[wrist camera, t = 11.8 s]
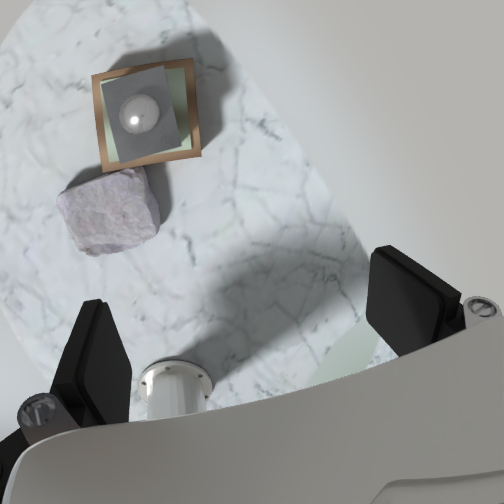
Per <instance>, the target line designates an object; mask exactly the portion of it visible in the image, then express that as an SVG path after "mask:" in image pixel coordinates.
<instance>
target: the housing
mask: <svg viewBox="0 0 504 504" xmlns="http://www.w3.org/2000/svg"><path fill="white" fill-rule="evenodd" d="M101 88H102V92H103V97H104V101H105V106H106V110H107V114H108V119H109V123H110V127H111V131H112V135H113V139H114V143H115V146H116V150H117V154H118V158H119V161H120V164H123V163H126V162H129V161H132V160H136V159H139V158H142V157H146V156H149V155H152V154H156V153H159V152H163V151H166V150H170V149H174V148H177V147H181V146H182V142H181V138H180V134H179V130H178V125H177V121H176V117H175V112H174V108H173V104H172V99H171V95H170V90H169V86H168V81H167V76H166V72H165V68H164V65H162V66H159V67H155V68H151V69H148V70H144V71H141V72H137V73H134V74H131V75H127V76H124V77H121V78H118V79H115V80H112V81H109V82H106V83H103V84H101Z"/></svg>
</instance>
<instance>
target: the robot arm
mask: <svg viewBox="0 0 504 504" xmlns="http://www.w3.org/2000/svg"><path fill="white" fill-rule="evenodd" d="M460 298H461V293H460V292H459V291H457V290H456V289H455V288H453V287H452V286H451V285H449V284H447V283H446V282H445V281H443V280H442V279H440V278H439V277H438V276H436V275H435V274H433V273H432V272H430V271H429V270H427V269H426V268H424V267H423V266H422V265H420V264H419V263H417V262H416V261H414V260H413V259H411V258H409V257H408V256H406V255H405V254H404V253H402V252H400V251H399V250H397V249H396V248H394V247H393V246H391V245H387V246H382V247H378V248H376V249H375V250H374V252H373V253H372V254H371V259H370V273H369V285H368V296H367V307H366V319H367V321H368V323H369V324H370V325H371V326H372V327H373V328H374V329H375V331H376V332H377V333H378V334H379V335H380V336H381V337H382V338H383V339H384V341H385V342H386V343H387V344H388V345H389V346H390V347H391V348H392V349H393V351H394V352H395V353H396V354H397V355H398V356H399V357H398V358H396V359H393V360H390V361H388V362H385V363H382V364H380V365H377V366H374V367H371V368H369V369H366V370H363V371H360V372H357V373H354V374H351V375H348V376H345V377H342V378H339V379H335V380H332V381H329V382H326V383H323V384H319V385H316V386H313V387H309V388H305V389H302V390H298V391H294V392H290V393H287V394H283V395H279V396H275V397H271V398H267V399H262V400H258V401H254V402H249V403H245V404H240V405H235V406H230V407H225V408H220V409H215V410H210V411H207V409H206V402H207V400H208V399H209V398H210V396H211V394H212V383H211V379H210V377H209V375H208V374H207V373H206V372H205V371H204V370H203V369H202V368H200V367H199V366H197V365H195V364H192V363H189V362H184V361H174V360H172V361H164V362H159V363H156V364H154V365H152V366H150V367H149V368H147V369H146V370H145V371H144V372H143V373H142V374H141V376H140V378H139V383H138V389H139V393H140V396H141V397H142V399H143V400H144V401H145V402H146V403H147V420H142V421H134V422H129V406H130V392H131V380H132V368H131V364H130V361H129V359H128V356H127V354H126V351H125V349H124V346H123V344H122V341H121V339H120V336H119V333H118V331H117V328H116V325H115V322H114V320H113V317H112V314H111V311H110V308H109V306H108V304H107V302H104V303H103V302H102V300H101V299H95V300H89V301H84V303H83V305H82V307H81V310H80V312H79V314H78V317H77V319H76V322H75V324H74V327H73V329H72V332H71V335H70V337H69V340H68V342H67V344H66V346H65V348H64V351H63V354H62V357H61V359H60V362H59V365H58V368H57V371H56V374H55V377H54V380H53V383H52V386H51V389H50V392H49V393H39V394H35V395H33V396H31V397H29V398H28V399H27V400H25V401H24V402H23V404H22V405H21V406H20V408H19V410H18V413H17V420H18V424H19V426H20V428H19V429H17V430H16V431H15V432H13V433H12V434H11V435H9V436H8V437H6V438H5V439H4V440H2V441H1V442H0V504H504V316H502V313H501V310H500V308H499V306H498V305H497V304H496V303H495V302H493V301H492V300H490V299H488V298H485V297H480V296H473V297H469V298H467V299H466V300H465V301H464V303H463V305H462V304H461V303H459V302H460Z"/></svg>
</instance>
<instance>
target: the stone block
mask: <svg viewBox="0 0 504 504" xmlns="http://www.w3.org/2000/svg"><path fill="white" fill-rule="evenodd" d="M57 206H58V209H59V210H60V213H61V215H62V217H63V219H64V221H65V224H66V226H67V229H68V231H69V234H70V236H71V238H72V240H73V242H74V244H75V246H76V247H77V249H78V250H79V251H80V252H85V254H86V255H87V256H91V257H98V256H99V255H101V254H112V253H118V252H121V251H124V250H128V249H132V248H134V247H136V246H138V245H139V244H140V243H144V242H145V241H147V240H149V239H151V238H153V237H155V236H156V235H157V233H158V231H159V228H160V221H161V220H160V214H159V205H158V202H157V200H156V198H155V196H154V193H153V192H152V191H151V190H150V187H149V182H148V178H147V175H146V172H145V169H144V167H143V166H136V167H131V168H125V169H120V170H115V171H112V172H109V173H107V174H104V175H101V176H99V177H96V178H94V179H91V180H89V181H86V182H84V183H81V184H79V185H76V186H73V187H71V188H68V189H66V190H64V191H62V192H61V193H60V194H59V195H58V197H57Z"/></svg>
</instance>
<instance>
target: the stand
mask: <svg viewBox="0 0 504 504" xmlns="http://www.w3.org/2000/svg"><path fill="white" fill-rule="evenodd" d="M162 65H164V68H165V72H166V76H167V81H168V86H169V90H170V95H171V99H172V104H173V108H174V112H175V117H176V121H177V125H178V130H179V134H180V138H181V142H182V146H181V147H177V148H174V149H170V150H166V151H163V152H159V153H156V154H152V155H149V156H146V157H142V158H139V159H136V160H132V161H129V162H126V163H123V164H120V161H119V158H118V154H117V150H116V146H115V143H114V139H113V135H112V131H111V127H110V123H109V119H108V114H107V110H106V106H105V101H104V97H103V92H102V88H101V84H103V83H106V82H109V81H112V80H115V79H118V78H121V77H124V76H127V75H131V74H134V73H137V72H141V71H144V70H148V69H151V68H155V67H159V66H162ZM91 77H92V90H93V101H94V111H95V121H96V129H97V137H98V144H99V151H100V158H101V165H102V171H103V173H104V172H109V171H114V170H120V169H125V168H131V167H136V166H142V165H148V164H154V163H160V162H167V161H173V160H180V159H187V158H194V157H202V155H201V145H200V135H199V124H198V113H197V101H196V89H195V77H194V63H193V58H189V59H180V60H172V61H165V62H158V63H151V64H145V65H139V66H134V67H128V68H123V69H118V70H113V71H109V72H104V73H100V74H96V75H91Z"/></svg>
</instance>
